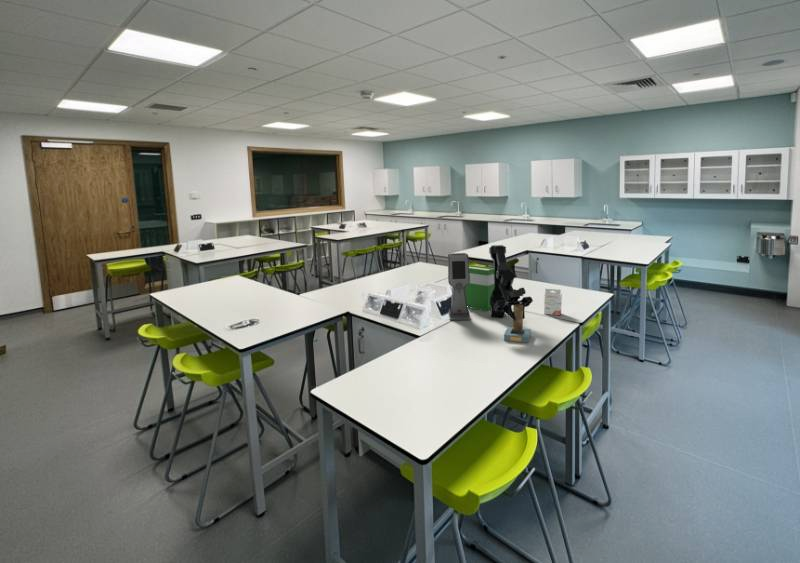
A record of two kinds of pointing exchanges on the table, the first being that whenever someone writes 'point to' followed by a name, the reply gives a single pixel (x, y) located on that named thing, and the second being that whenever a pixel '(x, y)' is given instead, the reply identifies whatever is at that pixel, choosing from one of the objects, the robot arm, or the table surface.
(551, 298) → the ink cartridge box
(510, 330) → the socket block
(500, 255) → the robot arm
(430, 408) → the table surface
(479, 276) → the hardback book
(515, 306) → the walnut peg
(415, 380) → the table surface
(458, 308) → the thermal camera
